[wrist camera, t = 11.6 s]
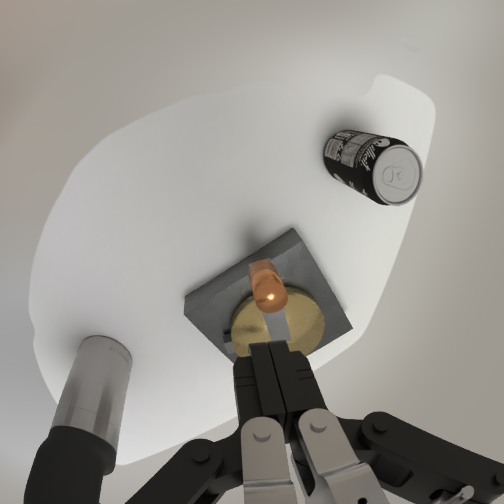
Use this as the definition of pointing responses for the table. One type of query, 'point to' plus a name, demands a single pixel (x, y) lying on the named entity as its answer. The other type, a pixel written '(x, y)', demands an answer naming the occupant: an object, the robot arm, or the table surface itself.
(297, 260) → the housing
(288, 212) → the table surface
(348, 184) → the beverage can
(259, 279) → the gold plate with handle
